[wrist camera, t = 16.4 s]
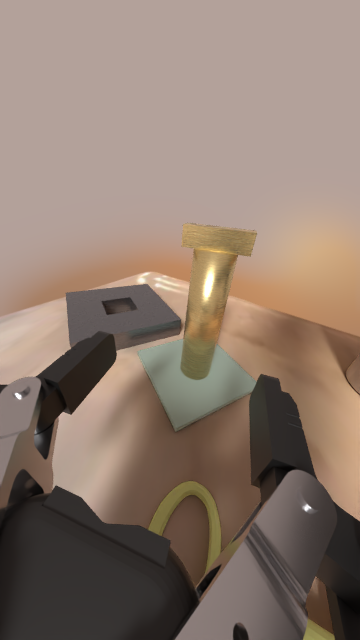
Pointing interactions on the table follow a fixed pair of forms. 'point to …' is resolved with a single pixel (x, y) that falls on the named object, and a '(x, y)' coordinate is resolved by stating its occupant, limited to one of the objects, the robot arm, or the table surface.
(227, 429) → the table surface
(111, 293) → the cover plate
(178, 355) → the mat
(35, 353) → the table surface
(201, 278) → the t key
